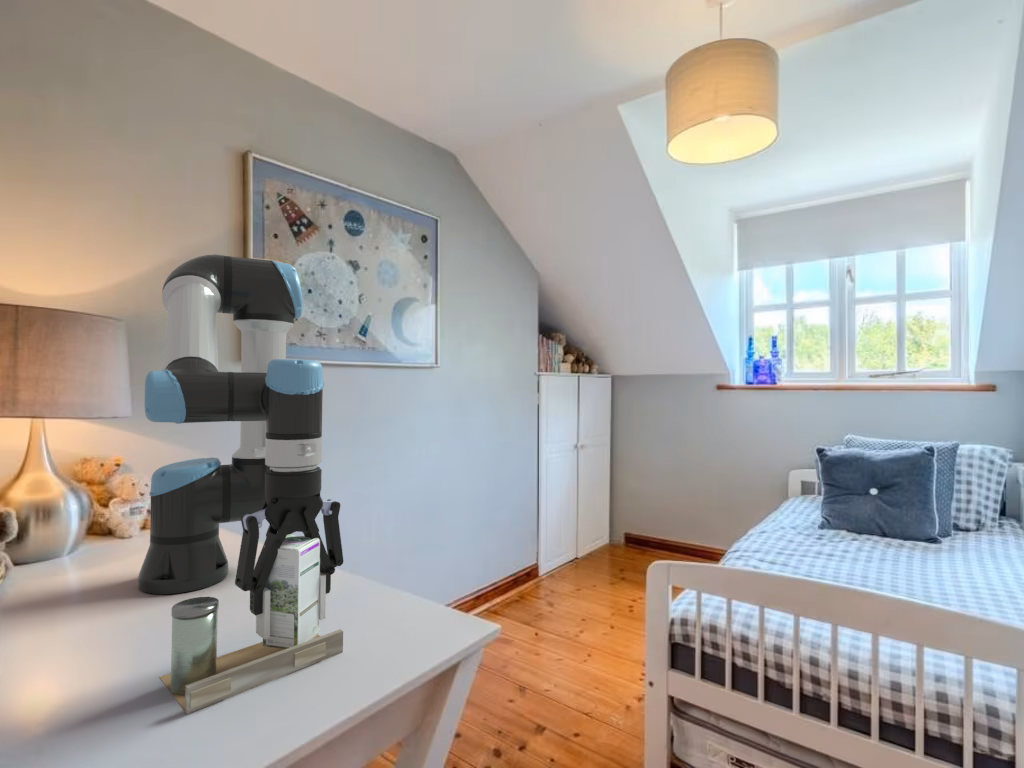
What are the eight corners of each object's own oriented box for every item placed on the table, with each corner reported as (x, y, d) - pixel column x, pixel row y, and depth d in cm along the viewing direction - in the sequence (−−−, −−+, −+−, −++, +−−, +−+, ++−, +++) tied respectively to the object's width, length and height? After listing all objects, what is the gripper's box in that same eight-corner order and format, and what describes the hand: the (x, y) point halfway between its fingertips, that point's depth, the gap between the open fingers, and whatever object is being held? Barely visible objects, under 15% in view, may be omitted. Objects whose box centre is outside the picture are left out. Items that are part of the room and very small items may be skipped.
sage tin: (163, 685, 69) (165, 605, 69) (207, 669, 73) (208, 593, 73) (178, 700, 65) (180, 616, 65) (223, 683, 69) (225, 603, 69)
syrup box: (320, 633, 80) (322, 535, 80) (297, 652, 74) (298, 547, 74) (286, 628, 81) (287, 532, 81) (260, 647, 75) (261, 544, 75)
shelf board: (159, 686, 70) (159, 654, 70) (306, 634, 85) (306, 607, 85) (187, 725, 63) (188, 689, 63) (343, 660, 78) (344, 631, 77)
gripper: (228, 479, 67) (226, 661, 68) (370, 462, 82) (367, 611, 83) (207, 471, 72) (205, 641, 73) (344, 457, 87) (342, 597, 88)
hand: (291, 625), depth 78 cm, fingers closed on syrup box, 7 cm apart
